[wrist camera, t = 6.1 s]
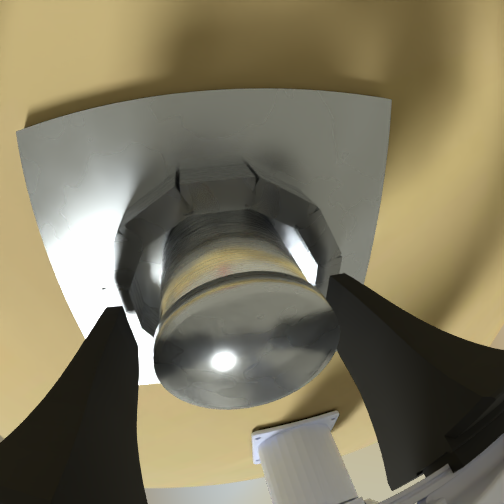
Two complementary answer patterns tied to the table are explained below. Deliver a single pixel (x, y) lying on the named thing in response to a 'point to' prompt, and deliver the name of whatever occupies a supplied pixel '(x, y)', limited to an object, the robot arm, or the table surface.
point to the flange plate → (202, 187)
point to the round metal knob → (237, 314)
